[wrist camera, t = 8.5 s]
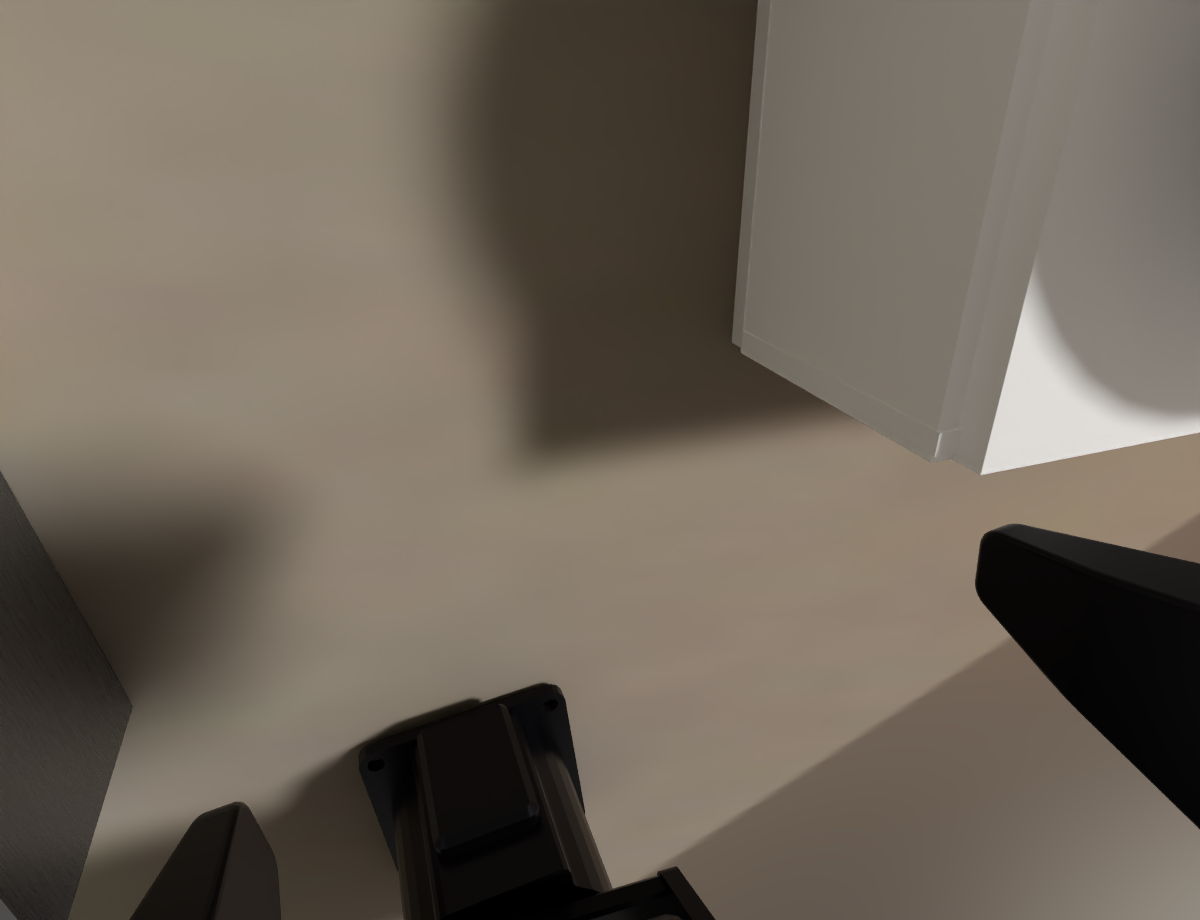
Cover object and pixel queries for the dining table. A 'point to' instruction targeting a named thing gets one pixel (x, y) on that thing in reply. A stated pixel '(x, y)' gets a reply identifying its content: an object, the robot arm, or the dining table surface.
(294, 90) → the dining table surface
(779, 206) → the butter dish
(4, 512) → the sleeve
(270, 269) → the dining table surface
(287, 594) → the dining table surface
